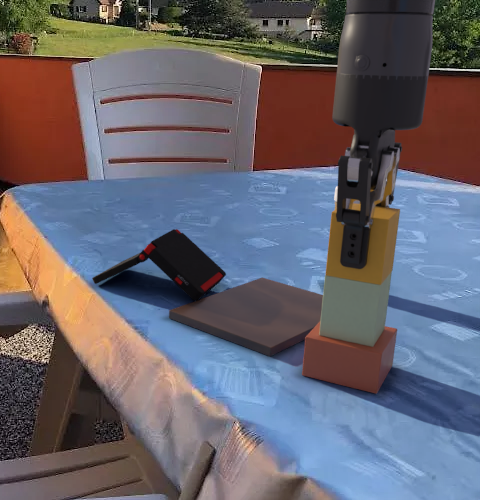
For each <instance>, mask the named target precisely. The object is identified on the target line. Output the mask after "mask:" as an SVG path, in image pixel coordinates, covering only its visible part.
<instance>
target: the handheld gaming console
mask: <svg viewBox="0 0 480 500" xmlns="http://www.w3.org/2000/svg"><path fill="white" fill-rule="evenodd" d="M148 260H150V261H151V263H153V264H154V265H155V266H156V267H158V268H159V269H160V270H161V271H162V273H164V274H165V275H166V276H167V277H168V278H169V279H170V280H171V281H172V282H174V284H175V285H176V286H178V287H179V288H180V290H182V292H184V293H185V294H186V295H187V296H188V297H189V298H190V299H191V300H193V301H197V300H200V299H202V298H203V296H205V295H206V294H208V292H210V291H211V290H212V289H213V288H215V287H216V286H217V285H218V284H220V282H221V281H222V280H223V279H225V277H226V276H227V273H226V271H225V270H223V268H222V267H221V266H219V264H217V263H216V262H215V261H214V260H213V259H212V258H211V257H210V256H208V255H207V254H206V253H205V252H204V251H203V250H202V249H201V248H200V247H199V246H198V245H197V244H196V243H195V242H193V240H191V239H190V238H189V237H188V236H187V235H186V234H185V233H184V232H181V231H180V230H179V229H177V228H176V229H175V228H173V229H172V230H169V231H168V232H166V233H164V234H162V235H160V236H158V237H156V238H155V239H153V240H152V241H150V243H148V244H147V245H146V247H145V248H144V249H142V250H141V252H138V253H137V254H134V255H132V256H130V257H128V258H126V259H124V260H122V261H120V262H118V263H117V264H115V265H113V266H111V267H109V268H108V269H106V270H104V271H102V272H100V273H98V274H96V275H95V276H93V277H92V278H91V279H92V282H93V284H95V285H97V284H99V283H101V282H103V281H105V280H107V279H110V278H112V277H113V276H116V275H119V274H121V273H122V272H124V271H126V270H129V269H131V268H133V267H135V266H137V265H139V264H141V263H145V262H146V261H148Z"/></svg>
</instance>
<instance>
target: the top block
mask: <svg viewBox="0 0 480 500" xmlns="http://www.w3.org/2000/svg"><path fill="white" fill-rule="evenodd" d="M360 207H361V204H356V203H353V205H352V210H360ZM336 213H337V209H336V210H335V209H334V210H332V211H331V215H330V225H329V236H328V243H327V244H328V246H327V255H326V265H325V275H327V276H333V277H338V278H344V279H349V280H355V281H361V282H366V283H372V284H378V285H381V284H382V283H383V282H384V280H385V279H386V278H387V277H388V275H389V274H390V273H391V272H392V273H393V270H394V269H393V268H394V264H395V263H394V262H395V253H396V247H397V239H398V238H397V237H398V230H399V223H400V214H401V208H397V207H396V208H394V207H389V208H388V207H380V206H375V211H374V216H373V220H374V221H373V225H372V226H371V231H370V240H369V248H368V257H367V264H366V266H365V267H364V268H362V269H356V268H350V267H344V266H342V265H341V263H340V257H341V248H342V238H343V229H344V225H342V224H341V222H337V220H336ZM325 275H324V276H325Z"/></svg>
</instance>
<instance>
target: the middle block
mask: <svg viewBox="0 0 480 500" xmlns="http://www.w3.org/2000/svg"><path fill="white" fill-rule="evenodd" d="M392 273H393V271H392V272H391V273H390V274H389V275H388V277H387V278H386V279H385V280H384V282H383V283H382V284H381V285H378V284H372V283H366V282H361V281H355V280H349V279H344V278H338V277H333V276H327V275H324V282H323V291H322V292H323V293H322V295H323V301H322V311H321V321H320V331H319V335H320V336H325V337H329V338H334V339H338V340H343V341H347V342H352V343H357V344H361V345H366V346H370V347H373V346H374V344H375V343H376V341H377V340H378V338H379V337H380V335H381V334H382V332H383V331H384V329H385V326H386V321H387V313H388V306H389V298H390V292H391V291H390V290H391V281H392V275H393V274H392Z"/></svg>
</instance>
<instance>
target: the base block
mask: <svg viewBox="0 0 480 500" xmlns="http://www.w3.org/2000/svg"><path fill="white" fill-rule="evenodd" d="M319 331H320V322H319V323H318V324H317V325H316V326H315V327H314V328H313V330H312V331H311V332H310V333H309V334H308V335H307V336H306V337H305V340H304V348H303V349H304V350H303V359H302V371H301V375H302V376H304V377H307V378H312V379H315V380H319V381H324V382H327V383H331V384H335V385H340V386H343V387H348V388H351V389H355V390H359V391H364V392H367V393H371V394H375V395H376V394H378V393H379V391H380V389H381V387H382V385H383V383H384V382H385V380H386V378H387V377H388V374H389V373H390V371H391V369H392V367H393V365H394V358H395V351H396V349H395V348H396V343H397V334H398V328H395V327H392V326H387V325H385V329H384V331H383V332H382V334H381V335H380V337H379V338H378V340H377V341H376V343H375V344H374V346H373V347H370V346H366V345H361V344H357V343H352V342H347V341H343V340H338V339H334V338H329V337H325V336H320V335H319Z"/></svg>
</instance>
